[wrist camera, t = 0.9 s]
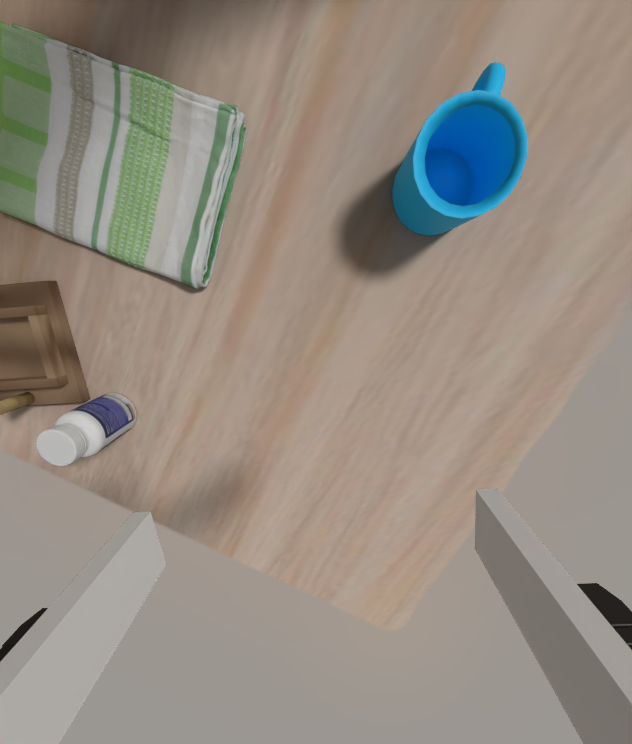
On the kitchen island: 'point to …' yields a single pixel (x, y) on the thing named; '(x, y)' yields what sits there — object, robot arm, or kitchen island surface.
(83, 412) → the pill bottle
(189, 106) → the dish towel
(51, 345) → the cradle
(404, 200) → the mug
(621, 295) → the kitchen island surface
